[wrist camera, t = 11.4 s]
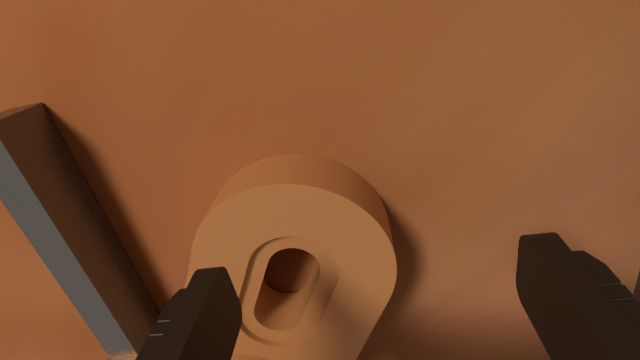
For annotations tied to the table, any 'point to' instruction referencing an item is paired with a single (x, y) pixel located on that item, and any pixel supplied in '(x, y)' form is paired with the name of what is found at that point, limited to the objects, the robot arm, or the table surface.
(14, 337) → the table surface
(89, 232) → the guide rails
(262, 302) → the bracket
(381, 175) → the table surface
